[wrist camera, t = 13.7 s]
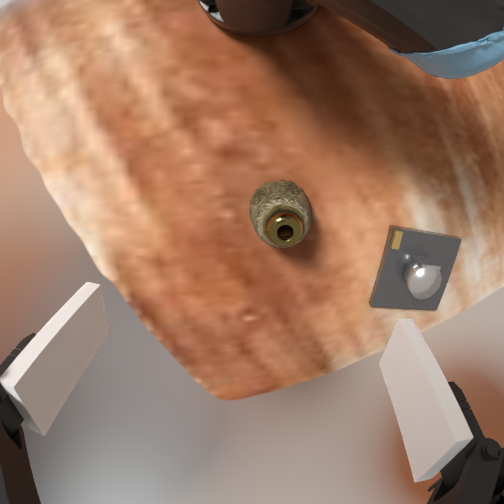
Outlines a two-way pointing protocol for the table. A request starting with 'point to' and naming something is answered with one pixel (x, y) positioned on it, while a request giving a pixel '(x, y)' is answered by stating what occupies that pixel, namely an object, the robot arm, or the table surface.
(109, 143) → the table surface
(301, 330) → the table surface
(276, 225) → the scalloped lamp shade
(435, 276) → the grey plate with knob
